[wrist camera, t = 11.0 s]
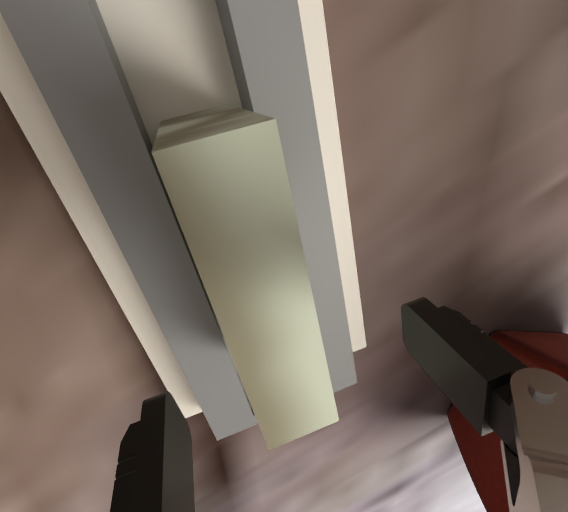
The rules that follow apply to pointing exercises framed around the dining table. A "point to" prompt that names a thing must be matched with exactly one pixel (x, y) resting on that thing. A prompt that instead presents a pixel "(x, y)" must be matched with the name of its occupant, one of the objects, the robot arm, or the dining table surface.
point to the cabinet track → (164, 94)
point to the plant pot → (487, 449)
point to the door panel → (250, 261)
